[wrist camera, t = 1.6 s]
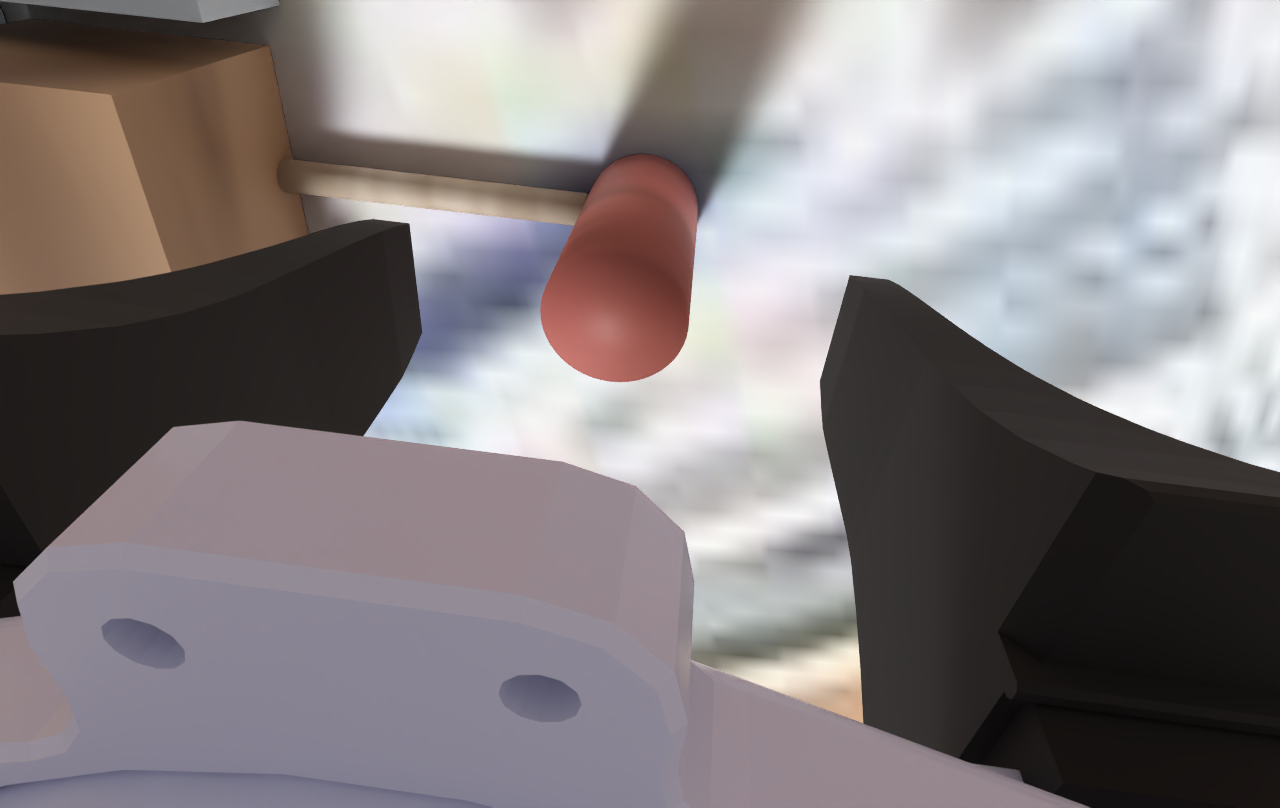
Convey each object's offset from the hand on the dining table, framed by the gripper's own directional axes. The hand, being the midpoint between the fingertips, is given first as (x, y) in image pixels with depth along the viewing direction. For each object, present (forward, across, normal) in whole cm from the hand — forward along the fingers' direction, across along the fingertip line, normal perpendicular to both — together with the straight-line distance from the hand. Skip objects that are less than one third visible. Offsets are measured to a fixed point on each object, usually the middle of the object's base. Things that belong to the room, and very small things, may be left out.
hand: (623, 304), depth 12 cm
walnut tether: (+5, +6, 0) cm, 7 cm away
